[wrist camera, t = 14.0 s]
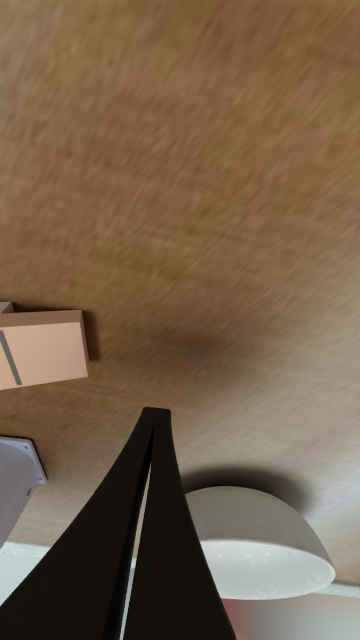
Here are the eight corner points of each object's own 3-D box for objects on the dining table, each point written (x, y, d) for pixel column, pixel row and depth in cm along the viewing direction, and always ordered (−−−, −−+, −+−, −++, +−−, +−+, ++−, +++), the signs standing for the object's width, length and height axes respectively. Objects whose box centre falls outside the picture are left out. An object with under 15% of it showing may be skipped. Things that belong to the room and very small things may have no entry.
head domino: (87, 376, 16) (-63, 399, 13) (88, 360, 18) (-45, 377, 15) (79, 322, 14) (-106, 335, 11) (81, 309, 16) (-78, 317, 13)
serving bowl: (174, 445, 23) (169, 527, 17) (336, 480, 25) (383, 565, 19) (140, 517, 33) (129, 587, 27) (260, 539, 35) (275, 608, 28)
